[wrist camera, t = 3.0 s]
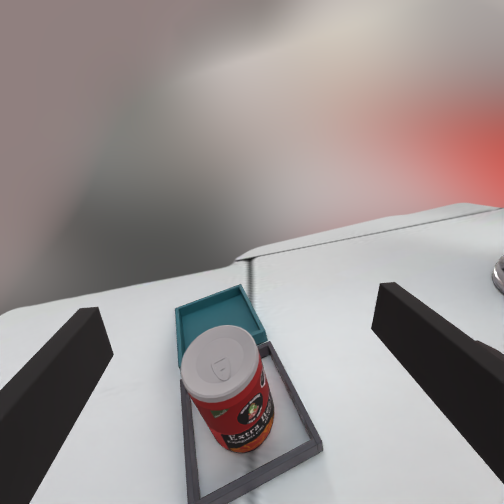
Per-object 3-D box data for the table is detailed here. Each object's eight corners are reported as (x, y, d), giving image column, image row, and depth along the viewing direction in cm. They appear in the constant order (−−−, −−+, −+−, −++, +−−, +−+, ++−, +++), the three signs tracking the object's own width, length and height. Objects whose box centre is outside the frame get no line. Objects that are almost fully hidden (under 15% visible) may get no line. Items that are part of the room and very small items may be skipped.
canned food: (236, 476, 23) (203, 420, 18) (200, 413, 29) (166, 356, 24) (290, 416, 27) (275, 354, 22) (247, 370, 33) (228, 313, 27)
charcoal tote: (272, 349, 35) (270, 340, 34) (323, 451, 24) (322, 441, 23) (184, 388, 32) (179, 379, 32) (195, 521, 21) (188, 514, 20)
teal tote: (243, 292, 48) (240, 283, 47) (267, 340, 36) (265, 330, 35) (179, 317, 45) (174, 308, 44) (183, 376, 34) (178, 367, 33)
